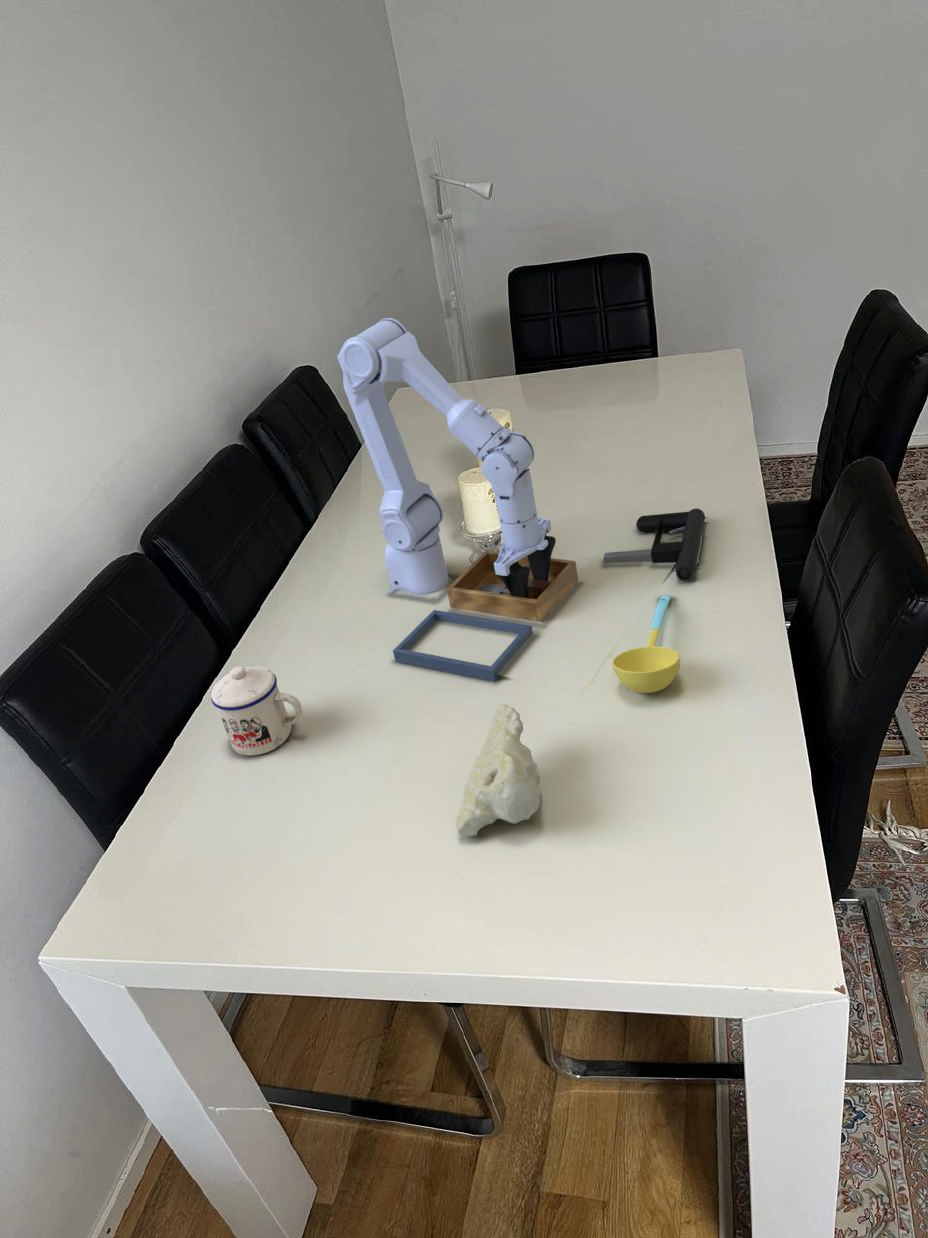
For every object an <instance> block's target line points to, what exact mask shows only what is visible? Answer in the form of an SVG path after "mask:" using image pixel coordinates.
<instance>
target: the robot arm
mask: <svg viewBox="0 0 928 1238" xmlns="http://www.w3.org/2000/svg"><path fill="white" fill-rule="evenodd" d="M337 361H338V363H339V366H340V369H341V371H342V378H343V379H342V380H343V381H342V382H343V389H344V392H345V395H346V397H347V400H348V403H349V405H350V408H351V410H352V412H353V416H354V418H355V421H356V422H357V426H358V428H359V430H360V433H361V436H362V438H363V440H364V441H363V442H364V443H365V446H366V448H367V451H368V453H369V456H370V459H371V461H372V463H373V467H374V469H375V472H376V473H377V477H378V479H379V482H380V484H381V487H382V490H383V491H384V493H383V497H382V500H381V502H380V507H379V511H378V513H379V515H380V518H381V531H382V534H383V537H384V539H385V541H386V542H387V543H386V545H385V548H384V563H385V566H386V570H387V573H388V577H389V581H390V584H391V588H392V589H391V590H390V591H389V593H390V594H391V593H393V592H394V591H395V590H399V591H405V592H409V593H411V594H413V595H419V596H422V595H423V596H425V595H430V594H435V593H436V592H439V591H441V590H442V589H444V588H446V586H447V585H448V584H449V582H450V577H449V573H448V568H447V564H446V559H445V555H444V551H443V547H442V543H441V537H440V532H441V529H440V524H441V523H442V521H443V519H444V509H443V506H442V504H441V502H440V501H439V500H438V499H437V497H436V496H435V495H434V493H433V491H432V489H431V486H430V484H428V483H426V482H423V481H420V480H418V479H417V477H416V474H415V471H414V468H413V465H412V463H411V461H410V457H409V455H408V453H407V449H406V447H405V444H404V441H403V439H402V436H401V434H400V431H399V428H398V426H397V423H396V421H395V418H394V414H393V412H392V410H391V406H390V405H389V404H390V403H389V401H388V398H387V396H386V394H385V390H384V385H385V384H386V383H397V382H400V383H402V382H404V383H406V384H407V385H408V386H410V388H412V389H413V390H414V391H415V392H416V393H418V394H419V395H420V396H421V397H422V398H424V399H425V400H426V401H427V402H429V403H430V404H431V405H432V406H433V407H434V408H436V410H438V411H439V412H440V413H442V414H443V415H444V416H445V417H446V423H447V430H448V431H449V432H450V433H451V434H453V435H454V436H455V437H456V438H457V439H458V440H459V441H460V442H461V443H462V444H463V445H464V446H465V447H466V448H467V449H468V450H469V451H470V452H471V453H472V454H473V455H474V456H475V457H476V458H477V459H478V460H479V461H480V462H481V463H482V465H481V466H480V470H481V472H482V474H483V476H484V478H485V479H486V480H487V481H488V482H489V484H490V486H491V490H492V492H493V493H494V498H495V499H494V500H495V504H496V509H497V515H498V520H499V525H500V530H501V535H502V540H503V542H502V545H501V547H500V550H499V552H500V553H499V556H498V559H497V560H496V562H495V563H494V567H493V569H494V573H495V574H496V575H497V576H498V577H499V578H500V579H501V580H502V581H503V583H504V584H505V585H506V587H507V588H508V590H509V592H510V594H511V596H516V597H522V598H529V592H528V577H529V572H530V569H531V572H532V575H533V578H534V579H537V580H544V581H548V577H549V567H550V559H551V558H552V554H553V551H554V549H555V545H556V544H557V541H556V537H554V536H551V535H547V534H548V533H550V532H551V531H552V524H551V519H549V518H541V517H540V518H539V516H538V512H537V505H536V499H535V494H534V487H533V482H532V475H531V469H530V468H529V467H530V466H531V464H532V463H533V461H534V459H535V450H534V447H533V444H532V443H531V441H530V440H529V439H528V438H527V436H526V435H525V434H524V433H521V432H519V431H512V430H510V428H509V427H507V428H506V427H504V426H503V425H502V424H501V423H499V421H498V420H496V419H495V418H494V416H493V415H491V413H489V412H488V408H487V407H486V406H485V405H484V404H483V403H480V402H478V401H477V400H476V399H467V398H462V396H461V395H460V394H459V393H458V392H457V391H456V390H455V389H454V388H453V386H451V384H450V383H449V382H448V381H447V379H445V377H443V375H441V373H440V372H439V371H438V370H437V369H436V368H435V366H433V364H432V363H431V362H430V361H429V360H428V359H427V357H425V356H424V354H423V353H422V352H421V351H420V348H419V345H418V341H417V337H416V336H415V335H413V334H412V333H411V332H410V331H408V330H407V329H406V327H405V326H404V325H403V323H401V321H399V320H397V319H395V318H393V317H384V318H381V319H380V320H379V321H377V323H375V324H374V325H372V326H370V327H368V328H367V329H365V330H363V331H362V332H360V333H358V334H357V335H355V336H352V337H350V338H348V339H347V340H345V342H344V343H343V345H342V346H341V349H340V350H339V352H338V354H337ZM526 556H527V558H528V561H529V564H530V567H524V566H521V564H519V562H518V561H519V560H520V559H522V558H524V557H526Z"/></svg>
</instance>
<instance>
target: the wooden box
mask: <svg viewBox="0 0 928 1238" xmlns="http://www.w3.org/2000/svg"><path fill="white" fill-rule="evenodd" d="M499 553H500V551H496V550H485V551H484V552H483V553H481V555H479V557H477V559H475V561H473V563H472V564H470V565H469V566H468V567H467V568H466V569H465V570H464V571H463V572H462V573H461V574H460V575H459V576H458V577H457V578H456V579H455V580H454V581H453V582H452V583H451V584H450V585H449V586H448V587H447V588H446V595H447V597H448V602H449V606H450V609H453V610H455V609H456V610H460V611H461V610H462V611H467V612H472V613H473V612H474V613H480V614H486V615H492V616H499V617H506V618H512V619H518V620H522V621H523V620H524V621H530V622H535V623H536V622H537V623H541V624H542V623H543V622H544V621H545V620H546V619H547V618H548V617H549V616H550V614H551V613H552V612H553V611H554V609H555V608H556V607H557V606H558V605H559V604H560V603H561V601H562V600H563V599H564V598H565V597H566V595H567V594H569V592H570V591H571V590H572V589H573V587H574V586H575V585H576V584H577V583H578V582H579V576H578V569H577V562H576V560H569V559H564V558H563V559H562V558H552V557H551V559H550V567H549V577H548V581H550V585H549V586H548V587H547V588H546V589H545V591H544V592H543V593H542V594H541V595H540V596H539V597H538V598H537V600H536V599H529V598H522V597H516V596H511V595H509V594H495V593H488V592H482V591H477V590H479V588H481V586H482V585H483V584H484V583H487V584H494V585H505V584H504V583H503V581H502V580H501V579H500V578H499V577H498V576H497V575H496V574H495V573H494V569H493V567H494V563H495V562H496V560H497V559H498V556H499ZM518 562H519V564H521V566H524V567H530V564H529V561H528V558H527V556H526V557H524V558H522V559H520V560H519V561H518ZM528 578H529V579H534V578H533V575H532V572H531V569H530V572H529V577H528ZM483 586H484V585H483ZM505 586H506V585H505ZM506 589H508V588H506Z"/></svg>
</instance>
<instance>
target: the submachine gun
mask: <svg viewBox="0 0 928 1238" xmlns="http://www.w3.org/2000/svg"><path fill="white" fill-rule="evenodd" d="M706 519H707V517H706V514H705V512H704V511H703V510H702V509H701V508H692V509H690V510H689V511H681V512H670V513H669V512H667V513H660V514H659V513H658V514H648V515H641V516H639V517H638V518H637V520H636V524H635V525H636V529H637V530H638V531H639V532H642V533H645V532H646V533H647V532H655V535H654V539H653V542H652V546H651V548H648V549H635V550H634V549H633V550H621V551H610V552H604V555H603V563H638V562H639V563H641V562H652V564H672V563H673V564H674V565H673V567H675V576H676V578H677V579H678V580H679V581H682V582H687V581H690V580H691V579H692V578H693V577H694V575H695V573H696V570H702V568H701V567H697V564H699V562H700V560H699V559H700V554H701V553H700V552H701V548H702V542H703V532H704V526H705V524H707V522H705V521H706ZM669 530H670V531H669ZM664 531H668V532H667V534H668V536H672V535H675V534H678V533H682V532H683V534H682V537H681V541H671V542H661V539H662V537H663V536H662V535H663V532H664Z"/></svg>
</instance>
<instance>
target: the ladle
mask: <svg viewBox="0 0 928 1238" xmlns="http://www.w3.org/2000/svg"><path fill="white" fill-rule="evenodd" d="M671 599H672V596H671V595H663V596H661V597H660V598H659V600H658V603H657V604H656V608H655V611H654V614H653V617H652V622H651V625H650V629H649V630H650V631H649V636H648V640H647V643H646V644H647V645H646V646H642V647H641V646H640V647H635V648H632V649H628V650H625V651H623V652H621V653H619V654H618V655H616V656H615V657H614V658H613V660H612V668H613V671H614V674H615V675H616V677H617V679H618V680H619V682H620V683H621V684H622V685H623V686H625V687H626V688H628V689H629V690H631V691H633V692H636V693H643V694H652V693H656V692H658V691H662V690H664V689H666V688H667V687H668V686H669V685H671V683H672V682H673V681H674V680H675V678H677V677H676V676H677V675H678V673H679V670H680V666H681V665H680V664H681V655H680V653H679V652H677V650H675V649H672V648H670V647H663V646H657V641H658V638H659V633H660V631H661V628H662V623H663V620H664V618H665V613H666V611H667V608H668V606H669V604H670V602H671Z"/></svg>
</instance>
